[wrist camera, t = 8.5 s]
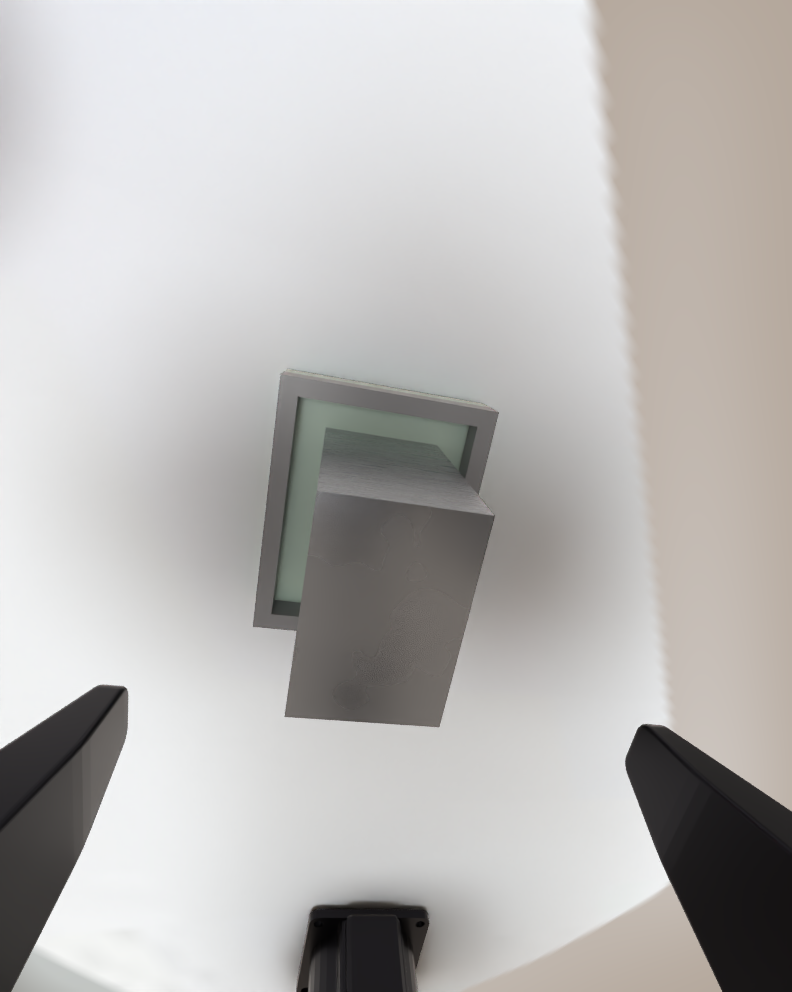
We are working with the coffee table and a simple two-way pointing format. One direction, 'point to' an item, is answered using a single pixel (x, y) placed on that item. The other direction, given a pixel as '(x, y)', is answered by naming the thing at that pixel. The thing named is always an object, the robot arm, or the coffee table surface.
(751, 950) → the robot arm
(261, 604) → the grey green tray
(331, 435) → the billet
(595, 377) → the coffee table surface
